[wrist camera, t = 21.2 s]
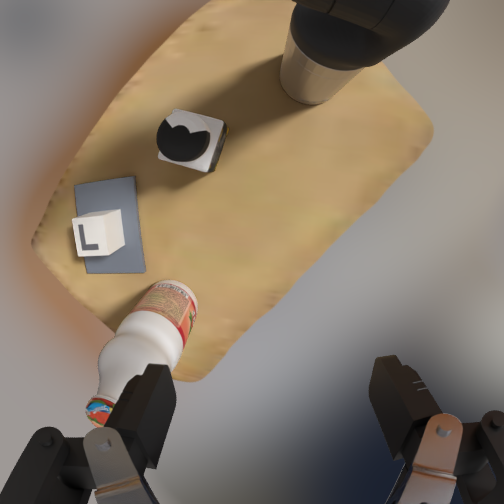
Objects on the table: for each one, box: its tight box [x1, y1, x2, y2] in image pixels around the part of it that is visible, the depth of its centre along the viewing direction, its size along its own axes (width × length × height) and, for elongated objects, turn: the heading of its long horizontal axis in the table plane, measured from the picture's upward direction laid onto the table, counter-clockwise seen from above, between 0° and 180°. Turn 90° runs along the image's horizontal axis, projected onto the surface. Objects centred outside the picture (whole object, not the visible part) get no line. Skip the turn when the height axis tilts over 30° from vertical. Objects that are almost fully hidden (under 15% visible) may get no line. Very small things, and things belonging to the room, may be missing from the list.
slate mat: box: [74, 176, 146, 273], centre depth 46 cm, size 16×12×1 cm
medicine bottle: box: [157, 109, 229, 172], centre depth 36 cm, size 7×7×12 cm
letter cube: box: [72, 209, 125, 256], centre depth 42 cm, size 6×6×6 cm
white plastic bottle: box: [85, 280, 198, 428], centre depth 36 cm, size 9×9×28 cm
